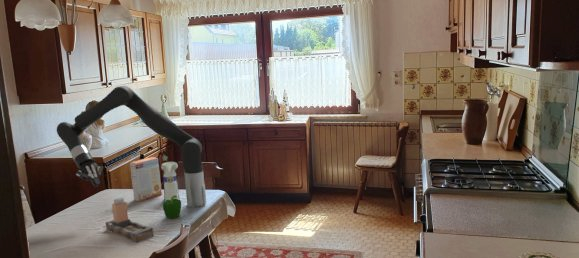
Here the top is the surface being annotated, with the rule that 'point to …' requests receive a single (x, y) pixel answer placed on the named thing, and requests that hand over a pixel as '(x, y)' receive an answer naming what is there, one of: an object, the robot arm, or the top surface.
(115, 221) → the slider tab
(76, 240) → the top surface
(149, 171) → the cracker box
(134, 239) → the fader track
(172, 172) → the white bottle
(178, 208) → the bell pepper
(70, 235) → the top surface
